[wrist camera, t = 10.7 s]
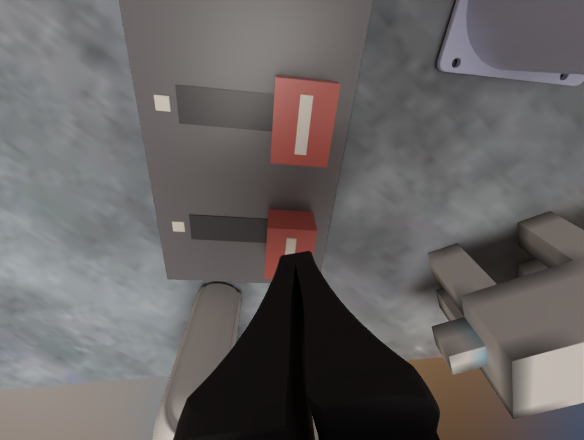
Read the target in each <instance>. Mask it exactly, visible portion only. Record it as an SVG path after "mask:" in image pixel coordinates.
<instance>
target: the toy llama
mask: <svg viewBox="0 0 584 440" xmlns="http://www.w3.org/2000/svg"><path fill="white" fill-rule="evenodd" d="M518 245H519V246H521V247H522V248H523V249H524V250H526V251H527V252H528V253H530V254H531V255H532V256H534V257H535V258H536V259H534V260H531V261H528V262H524V263H521V264H518V278H516V279H512V280H509V281H506V282H503V283H500V284H496V283H495V282H494V281H493V280H492V279H491V278H490V277H489V275H488V274H487V273H486V272H485V271H484V270H483V269H482V268H481V267H480V266H479V265H478V264H477V263H476V262H475V261H474V260H473V259H472V258H471V257H470V256H469V255H468V254H467V253H466V252H465V251H464V250H463V249H462V248H461V247H460V246H459V245H458V244H457V243H456V244H454V245H451V246H448V247H445V248H442V249H439V250H436V251H433V252H430V253H428V255H429V259H430V264H431V269H432V273H433V274H434V276H435V277H436V279H437V280H438V281H439V283H440V284H441V285H442V287H443V289H440V290H437V291H436V292H437V296H438V301H439V306H440V308H441V310H442V311H443V313H444V314H445V316H446V317H447V319H448V320H449V322H445V323H442V324H439V325H435V326H432V330H433V334H434V338H435V342H436V345H437V347H438V349H439V351H440V353H441V354H442V356H443V358H444V360H445V361H446V363H447V365H448V367H449V368H450V370H451V372H452V374H453V375H454V374H458V373H461V372H465V371H469V370H473V369H476V368H480V369H481V371H482V372H483V374H484V375H485V377H486V378H487V380H488V381H489V383H490V384H491V386H492V387H493V389H494V390H495V392H496V394H497V395H498V397H499V398H500V399H501V401H502V403H503V404H504V406H505V407H506V409H507V410H508V412H509V413H510V415H511V416H512V418H513V419H515V418H520V417H524V416H528V415H532V414H537V413H541V412H545V411H549V410H554V409H558V408H562V407H567V406H571V405H575V404H579V403H584V230H583V229H581V228H579V227H577V226H576V225H574V224H572V223H570V222H568V221H567V220H565V219H563V218H561V217H560V216H558V215H556V214H554V213H552V212H551V211H549V212H547V213H544V214H541V215H538V216H535V217H532V218H529V219H526V220H523V221H520V222H518Z"/></svg>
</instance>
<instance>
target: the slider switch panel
mask: <svg viewBox="0 0 584 440" xmlns="http://www.w3.org/2000/svg"><path fill="white" fill-rule="evenodd" d="M119 4H120V10H121V16H122V21H123V27H124V33H125V38H126V44H127V50H128V56H129V61H130V67H131V73H132V79H133V84H134V90H135V96H136V101H137V107H138V113H139V119H140V124H141V130H142V136H143V142H144V147H145V153H146V159H147V164H148V170H149V176H150V182H151V187H152V193H153V199H154V204H155V210H156V216H157V222H158V227H159V233H160V239H161V245H162V250H163V256H164V262H165V267H166V273H167V279H176V280H202V281H228V282H255V283H271V281H272V279H264V277H265V260H266V243H267V226H268V209H276V210H292V211H308V212H313V215H314V219H315V223H316V228H317V235H316V241H315V247H314V253H313V258H314V261H315V263H316V265H317V267H318V269H319V271H320V272H321V268H322V263H323V258H324V253H325V248H326V242H327V237H328V232H329V227H330V222H331V217H332V211H333V206H334V201H335V196H336V191H337V185H338V180H339V175H340V170H341V165H342V160H343V154H344V149H345V144H346V139H347V134H348V128H349V123H350V118H351V113H352V108H353V103H354V97H355V92H356V87H357V82H358V77H359V71H360V66H361V61H362V56H363V51H364V46H365V40H366V35H367V30H368V25H369V20H370V14H371V9H372V4H373V0H119ZM275 75H286V76H295V77H305V78H314V79H324V80H332V81H335V82H337V83H340V84H341V86H340V92H339V98H338V104H337V110H336V116H335V122H334V128H333V134H332V140H331V146H330V152H329V158H328V164H327V167H314V166H301V165H288V164H275V163H270V161H271V143H272V126H273V109H274V92H275Z"/></svg>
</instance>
